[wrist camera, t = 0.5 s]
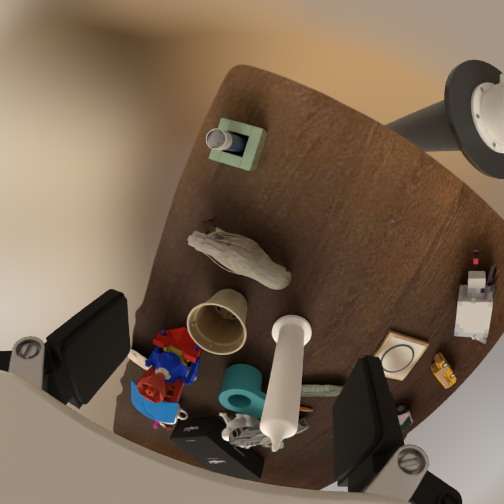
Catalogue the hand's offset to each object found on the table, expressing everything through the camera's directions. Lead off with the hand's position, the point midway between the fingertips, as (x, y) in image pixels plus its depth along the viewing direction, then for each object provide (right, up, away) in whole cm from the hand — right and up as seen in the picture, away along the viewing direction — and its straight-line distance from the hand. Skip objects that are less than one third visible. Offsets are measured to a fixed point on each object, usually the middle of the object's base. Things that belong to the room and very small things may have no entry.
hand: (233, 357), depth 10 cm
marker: (-1, +20, +30) cm, 36 cm away
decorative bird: (0, +4, +35) cm, 35 cm away
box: (-8, -50, +54) cm, 74 cm away
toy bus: (+42, -20, +32) cm, 57 cm away
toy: (+38, -12, +26) cm, 47 cm away
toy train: (-14, -17, +44) cm, 50 cm away
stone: (+13, -22, +39) cm, 47 cm away
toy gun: (-1, -44, +43) cm, 61 cm away
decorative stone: (-25, -20, +47) cm, 57 cm away
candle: (+8, -10, +38) cm, 40 cm away
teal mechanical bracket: (+4, -23, +39) cm, 45 cm away
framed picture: (+29, -16, +36) cm, 49 cm away
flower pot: (-3, -5, +39) cm, 39 cm away
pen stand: (-1, +20, +30) cm, 36 cm away
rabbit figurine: (-1, -35, +48) cm, 60 cm away
